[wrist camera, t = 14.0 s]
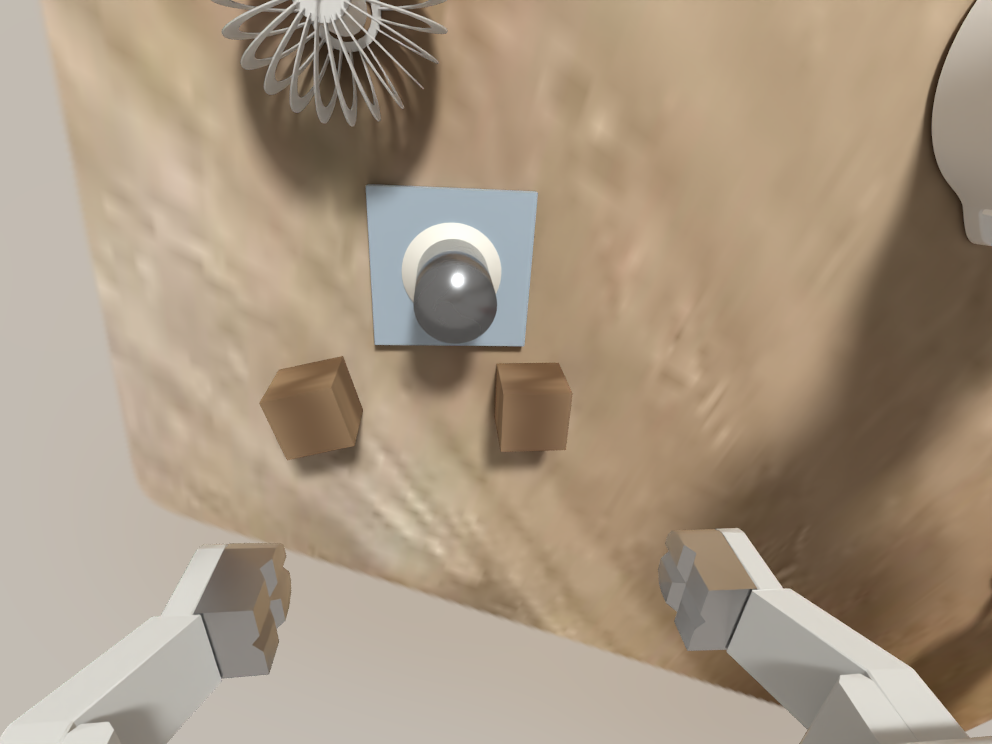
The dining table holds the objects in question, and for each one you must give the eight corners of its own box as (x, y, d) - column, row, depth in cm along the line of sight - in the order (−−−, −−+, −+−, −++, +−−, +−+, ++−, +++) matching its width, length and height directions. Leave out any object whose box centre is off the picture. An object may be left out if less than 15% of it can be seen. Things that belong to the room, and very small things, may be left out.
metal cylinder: (486, 308, 30) (495, 344, 26) (417, 307, 30) (414, 343, 25) (489, 239, 28) (499, 265, 24) (416, 237, 28) (412, 263, 24)
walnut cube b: (343, 355, 32) (331, 387, 28) (363, 409, 34) (354, 445, 30) (279, 369, 32) (259, 403, 28) (302, 422, 34) (287, 460, 30)
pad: (536, 191, 28) (538, 193, 28) (522, 342, 32) (524, 346, 32) (367, 184, 27) (365, 186, 26) (375, 340, 31) (374, 345, 31)
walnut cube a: (558, 362, 33) (572, 393, 30) (552, 414, 35) (565, 449, 32) (496, 363, 33) (503, 394, 29) (494, 416, 35) (500, 451, 31)
